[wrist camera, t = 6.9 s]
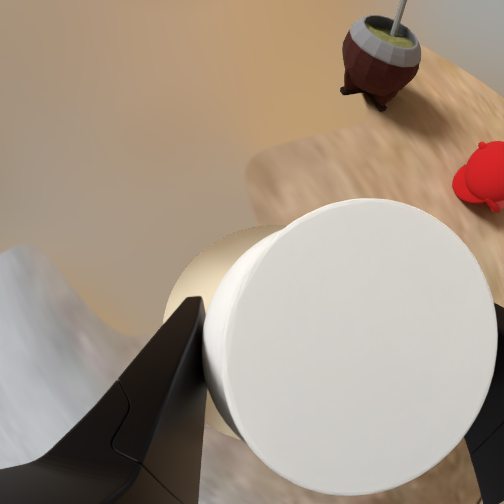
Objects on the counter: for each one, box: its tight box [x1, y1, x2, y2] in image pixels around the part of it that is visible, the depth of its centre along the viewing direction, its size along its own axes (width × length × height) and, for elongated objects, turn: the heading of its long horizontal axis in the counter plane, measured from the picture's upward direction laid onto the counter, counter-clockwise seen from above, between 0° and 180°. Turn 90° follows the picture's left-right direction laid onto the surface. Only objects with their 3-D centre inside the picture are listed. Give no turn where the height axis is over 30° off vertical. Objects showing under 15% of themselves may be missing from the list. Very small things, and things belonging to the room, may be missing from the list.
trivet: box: [163, 226, 287, 440], centre depth 20 cm, size 15×15×1 cm
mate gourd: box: [340, 0, 421, 111], centre depth 20 cm, size 8×8×15 cm
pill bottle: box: [202, 198, 498, 496], centre depth 9 cm, size 6×6×11 cm
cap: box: [452, 141, 504, 213], centre depth 22 cm, size 8×6×6 cm
